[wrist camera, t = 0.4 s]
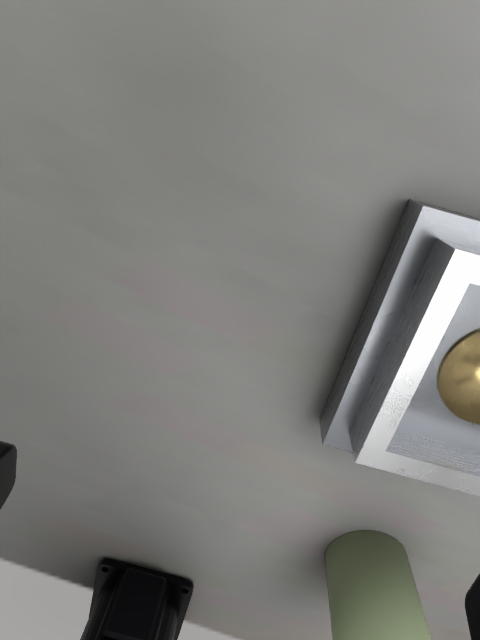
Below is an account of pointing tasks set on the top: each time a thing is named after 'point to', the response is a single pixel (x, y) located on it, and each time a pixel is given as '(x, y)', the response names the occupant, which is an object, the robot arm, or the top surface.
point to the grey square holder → (417, 358)
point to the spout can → (372, 589)
